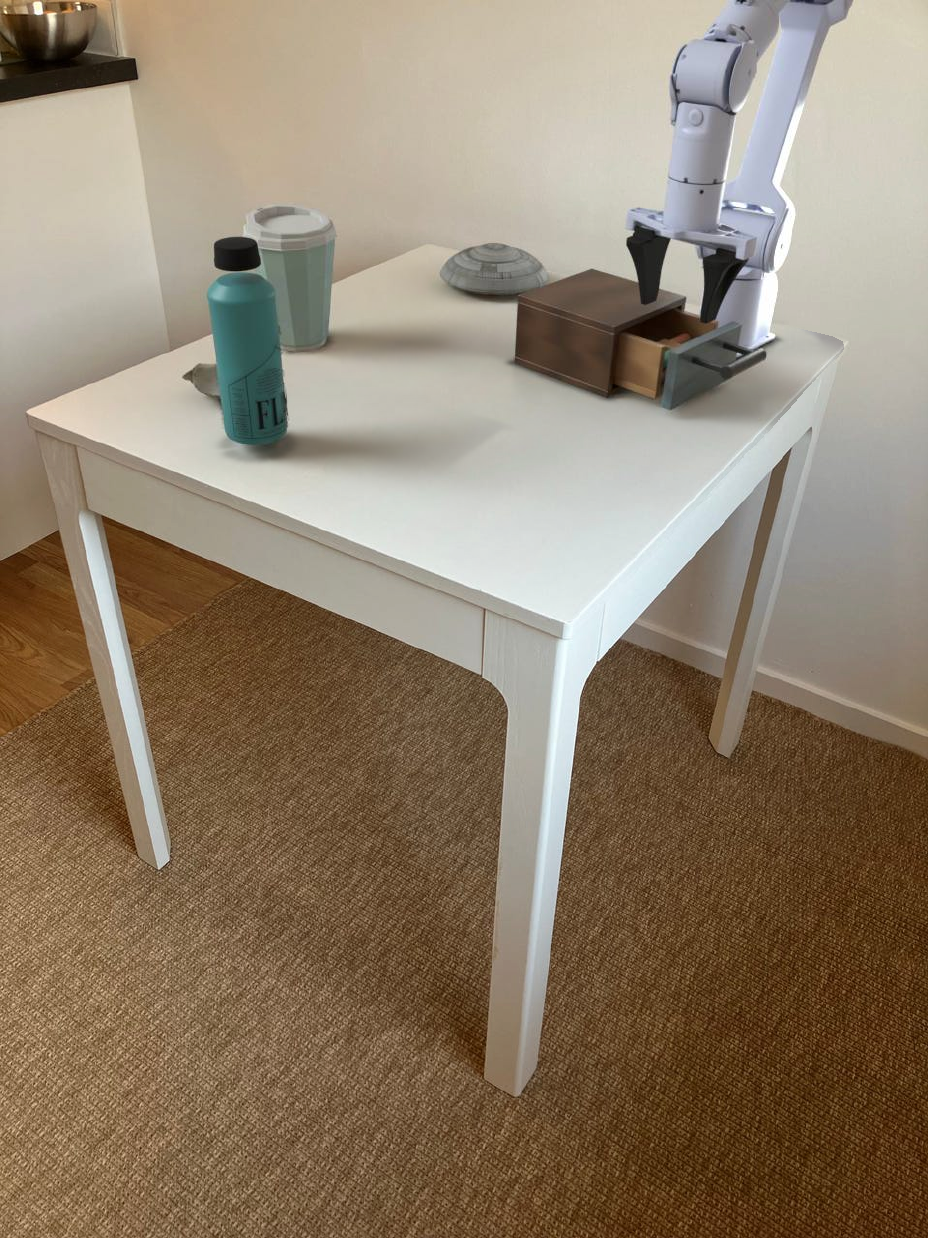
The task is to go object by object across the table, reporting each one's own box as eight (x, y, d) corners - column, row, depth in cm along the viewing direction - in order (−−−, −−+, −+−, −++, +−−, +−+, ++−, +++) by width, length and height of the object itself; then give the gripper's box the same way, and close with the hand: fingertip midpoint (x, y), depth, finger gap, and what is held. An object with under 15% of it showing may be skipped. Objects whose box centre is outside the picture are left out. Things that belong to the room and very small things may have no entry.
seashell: (239, 427, 111) (278, 384, 116) (237, 405, 109) (276, 362, 113) (173, 401, 113) (214, 359, 117) (169, 379, 110) (211, 337, 115)
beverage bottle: (261, 466, 101) (239, 256, 89) (210, 448, 103) (182, 242, 92) (304, 440, 105) (288, 237, 93) (254, 424, 108) (232, 225, 96)
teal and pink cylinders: (660, 387, 113) (664, 358, 111) (635, 377, 115) (638, 349, 113) (701, 366, 117) (705, 339, 116) (676, 358, 119) (680, 331, 117)
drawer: (770, 390, 115) (782, 335, 111) (709, 425, 108) (719, 367, 104) (641, 347, 125) (648, 295, 121) (577, 376, 117) (582, 321, 114)
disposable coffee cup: (360, 338, 127) (355, 211, 118) (304, 367, 120) (294, 234, 111) (293, 320, 132) (283, 196, 123) (235, 347, 125) (220, 217, 116)
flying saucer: (512, 311, 136) (514, 269, 133) (418, 288, 143) (418, 247, 139) (567, 280, 146) (570, 240, 143) (477, 260, 153) (478, 221, 150)
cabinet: (676, 364, 123) (686, 296, 118) (607, 398, 115) (614, 326, 110) (585, 333, 130) (591, 268, 126) (514, 362, 122) (517, 294, 118)
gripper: (614, 170, 105) (601, 302, 113) (739, 199, 98) (715, 339, 106) (654, 159, 110) (639, 287, 118) (777, 186, 102) (751, 321, 110)
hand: (677, 311), depth 112 cm, fingers open, 7 cm apart
